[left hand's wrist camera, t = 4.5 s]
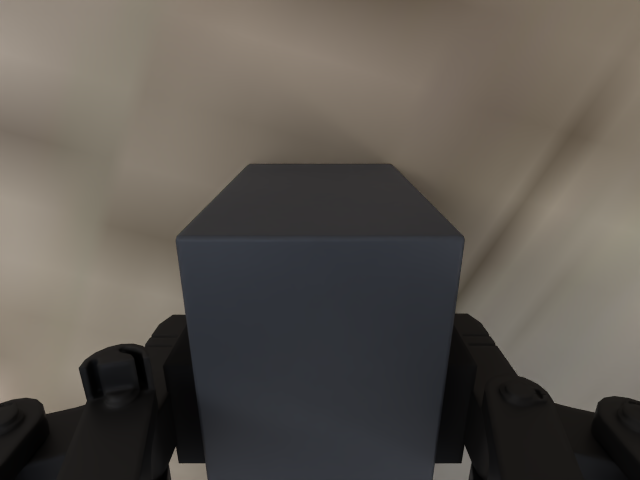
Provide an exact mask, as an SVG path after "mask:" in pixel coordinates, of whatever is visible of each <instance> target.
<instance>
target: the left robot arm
mask: <svg viewBox="0 0 640 480" xmlns="http://www.w3.org/2000/svg"><path fill="white" fill-rule="evenodd" d="M79 371H80V375H81V379H82V383H83V387H84V391H85V395H86V399H87V402H86V405H83V406H79V407H76V408H72V409H67V410H63V411H58V412H54V413H49V414H46V413H45V410H44V407H43V404H42V403H41V402H39V401H38V400H37V399H31V398H21V399H13V400H10V401H6V402H4V403H0V480H171V475H170V469H169V462H170V459H171V457H172V454H173V452H174V449H175V447H176V449H177V455H178V461H179V463H206V462H205V455H204V447H203V440H202V433H201V425H200V418H199V410H198V403H197V395H196V388H195V380H194V373H193V366H192V358H191V351H190V343H189V336H188V328H187V321H186V315H172V316H171V317H169V318H168V319H166V320H165V321H163V322H162V323H161V324H159V326H158V327H157V328H156V330H155V331H154V333H153V334H152V337H151V338H150V339H149V340H148V341H147V343H146V344H145V347H143V346H141V345H137V344H120V345H115V346H111V347H107V348H105V349H103V350H100V351H98V352H96V353H94V354H93V355H91V356H90V357H88V358H87V359H86V360H85V361H84V362H83V363H82V364H81V366H80V367H79ZM464 444H465V447H466V449H467V452H468V454H469V456H470V459H471V461H472V463H471V469H470V475H469V480H640V401H636V400H633V399H630V398H625V397H617V396H612V397H606V398H603V399H602V400H601V401H599V402H598V405H597V408H596V411H595V413H594V412H589V411H585V410H580V409H576V408H571V407H567V406H563V405H560V404H556V403H554V402H553V400H552V398H551V397H550V395H549V394H548V392H547V391H545V390H544V389H543V388H542V387H540V386H539V385H538V384H536V383H534V382H532V381H530V380H528V379H526V378H523V377H519V376H518V375H517V374H516V372H515V371H514V370H513V368H512V367H511V365H510V364H509V362H508V361H507V360H506V358H505V357H504V355H503V354H502V352H501V351H500V349H499V348H498V347H497V346H495V342H494V341H493V339H492V338H491V337H490V336H489V334H488V332H487V331H486V329H485V328H484V327H483V325H482V324H481V323H480V322H479V321H477V320H476V319H474V318H473V317H472V316H470V315H469V314H455V316H454V323H453V331H452V338H451V346H450V353H449V361H448V368H447V375H446V383H445V390H444V398H443V405H442V413H441V420H440V427H439V435H438V442H437V450H436V457H435V463H462V456H463V450H464Z"/></svg>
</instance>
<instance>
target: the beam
mask: <svg viewBox="0 0 640 480" xmlns="http://www.w3.org/2000/svg"><path fill="white" fill-rule="evenodd" d="M464 242H465V239H464V236H463V235H462V234H461V233H460V232H459V231H458V230H457V229H456V228H455V227H454V226H453V225H452V224H451V223H450V222H449V221H448V220H447V219H446V218H445V217H444V216H443V215H442V214H441V213H440V212H439V211H438V210H437V209H436V208H435V207H434V206H433V205H432V204H431V203H430V202H429V201H428V200H427V199H426V198H425V197H424V196H423V195H422V194H421V193H420V192H419V191H418V190H417V189H416V188H415V187H414V186H413V185H412V184H411V183H410V182H409V181H408V180H407V179H406V178H405V177H404V176H403V175H402V174H401V173H400V172H399V171H398V170H397V169H396V168H395V167H394V166H393V165H391V164H249V165H247V166H246V167H245V168H244V169H243V170H242V171H241V172H240V173H239V174H238V175H237V176H236V177H235V178H234V179H233V180H232V181H231V182H230V183H229V184H228V185H227V186H226V187H225V188H224V189H223V190H222V191H221V192H220V193H219V194H218V195H217V196H216V197H215V198H214V199H213V200H212V201H211V202H210V203H209V204H208V205H207V206H206V207H205V208H204V209H203V210H202V211H201V212H200V213H199V214H198V215H197V216H196V217H195V218H194V219H193V220H192V221H191V222H190V224H189V225H188V226H187V227H186V228H185V229H184V230H183V231H182V232H181V233H180V234H179V235H178V236H177V237H176V246H177V254H178V261H179V269H180V276H181V284H182V291H183V299H184V306H185V313H186V321H187V328H188V336H189V343H190V351H191V358H192V366H193V373H194V380H195V388H196V395H197V403H198V410H199V418H200V425H201V433H202V440H203V447H204V455H205V462H206V470H207V477H208V480H432V479H433V472H434V465H435V457H436V450H437V442H438V435H439V427H440V420H441V413H442V405H443V398H444V390H445V383H446V375H447V368H448V361H449V353H450V346H451V338H452V331H453V323H454V316H455V309H456V301H457V294H458V286H459V279H460V271H461V264H462V257H463V249H464Z"/></svg>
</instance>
